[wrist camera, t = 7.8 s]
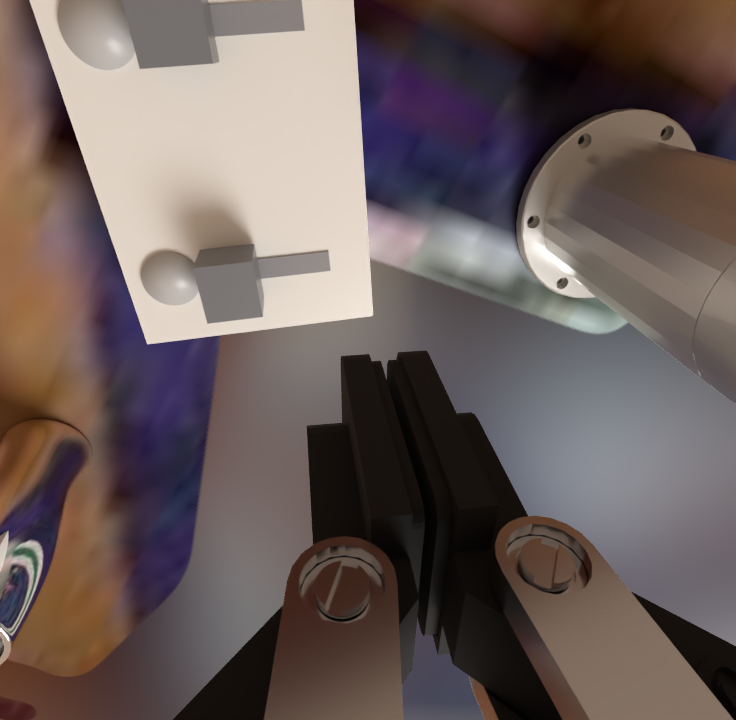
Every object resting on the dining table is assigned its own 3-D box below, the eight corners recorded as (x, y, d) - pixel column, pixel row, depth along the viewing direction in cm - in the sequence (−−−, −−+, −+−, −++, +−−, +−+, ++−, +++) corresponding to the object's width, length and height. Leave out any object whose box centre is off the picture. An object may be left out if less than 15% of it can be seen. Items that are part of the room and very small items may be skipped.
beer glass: (11, 399, 36) (-133, 591, 23) (112, 433, 39) (32, 621, 26) (-15, 465, 38) (-158, 670, 26) (81, 493, 41) (-5, 690, 28)
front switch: (203, -24, 22) (194, -33, 19) (219, 62, 24) (213, 63, 21) (131, -20, 22) (114, -28, 19) (153, 66, 23) (139, 68, 21)
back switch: (254, 243, 28) (252, 261, 26) (264, 295, 30) (262, 316, 28) (199, 249, 28) (192, 268, 26) (212, 301, 30) (207, 323, 27)
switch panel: (333, -138, 24) (343, -170, 20) (364, 290, 35) (373, 317, 32) (20, -127, 22) (-27, -159, 19) (160, 315, 34) (146, 346, 31)
